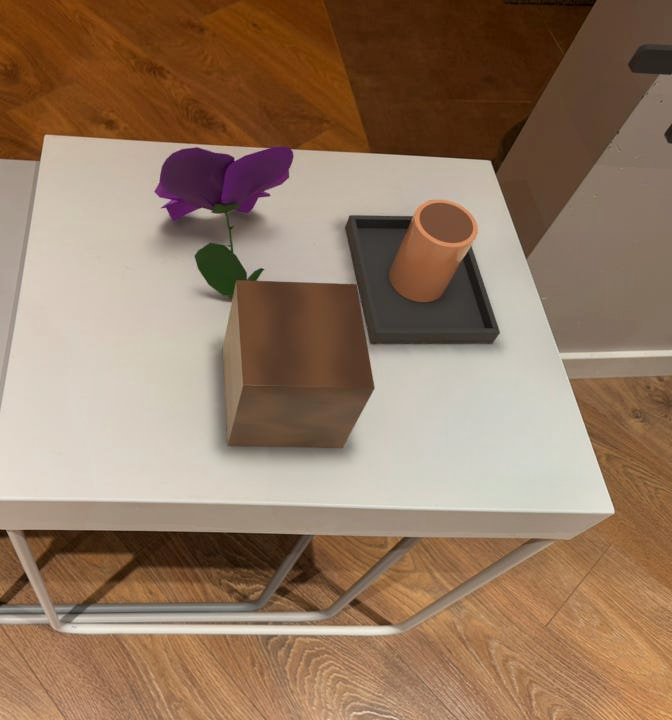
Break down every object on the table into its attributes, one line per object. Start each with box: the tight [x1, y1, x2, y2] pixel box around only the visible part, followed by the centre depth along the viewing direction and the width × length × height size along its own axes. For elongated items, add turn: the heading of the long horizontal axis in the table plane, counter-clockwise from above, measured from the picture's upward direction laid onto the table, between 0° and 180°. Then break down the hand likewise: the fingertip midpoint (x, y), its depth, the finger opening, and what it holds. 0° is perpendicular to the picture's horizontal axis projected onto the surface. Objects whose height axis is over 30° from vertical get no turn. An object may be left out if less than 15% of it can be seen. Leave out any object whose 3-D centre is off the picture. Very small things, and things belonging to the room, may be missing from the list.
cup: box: [389, 199, 479, 302], centre depth 81 cm, size 6×6×9 cm
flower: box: [153, 145, 294, 297], centre depth 80 cm, size 15×15×14 cm
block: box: [222, 280, 376, 449], centre depth 71 cm, size 11×11×11 cm
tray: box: [344, 214, 501, 345], centre depth 84 cm, size 16×13×2 cm
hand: (652, 92), depth 61 cm, fingers open, 8 cm apart
